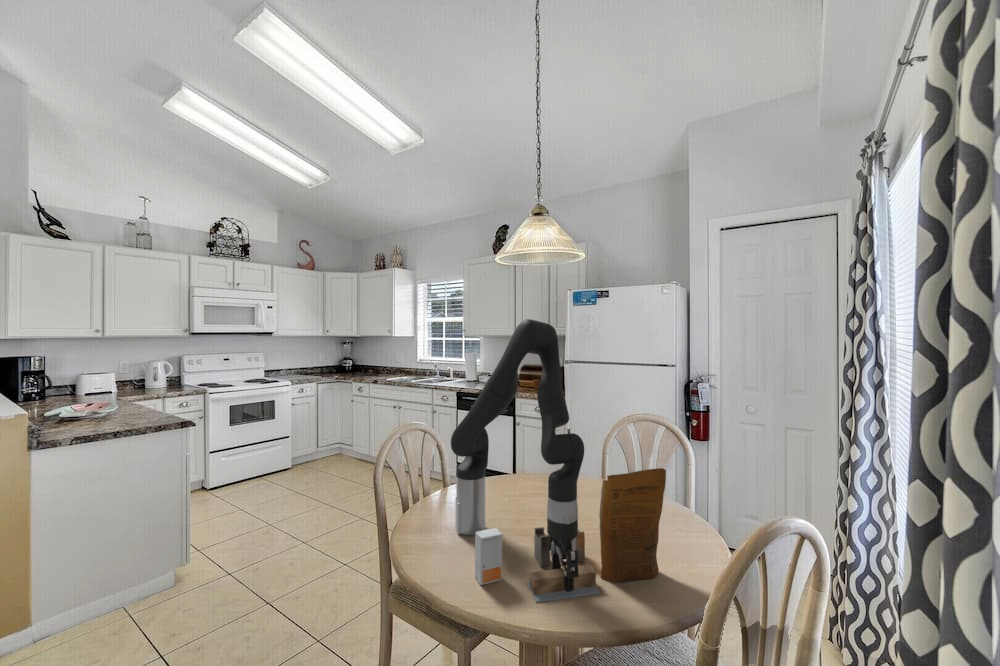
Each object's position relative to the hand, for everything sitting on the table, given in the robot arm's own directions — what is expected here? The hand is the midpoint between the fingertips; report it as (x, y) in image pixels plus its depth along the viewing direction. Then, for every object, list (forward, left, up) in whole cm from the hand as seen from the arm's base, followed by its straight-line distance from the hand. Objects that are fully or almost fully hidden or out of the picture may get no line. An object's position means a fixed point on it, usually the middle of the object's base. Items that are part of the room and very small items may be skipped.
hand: (562, 580), depth 109 cm
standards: (+4, +13, -2) cm, 14 cm away
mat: (0, 0, -2) cm, 2 cm away
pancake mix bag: (+19, +1, -2) cm, 19 cm away
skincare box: (-17, +8, -2) cm, 19 cm away
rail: (0, 0, -2) cm, 2 cm away
